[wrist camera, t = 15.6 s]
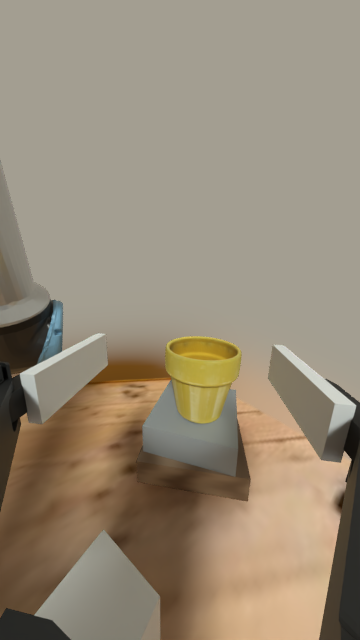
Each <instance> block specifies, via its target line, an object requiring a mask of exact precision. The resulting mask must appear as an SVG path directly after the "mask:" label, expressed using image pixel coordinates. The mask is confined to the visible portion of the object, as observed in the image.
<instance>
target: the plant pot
mask: <svg viewBox="0 0 360 640" xmlns="http://www.w3.org/2000/svg"><path fill="white" fill-rule="evenodd" d="M165 354H166V355H165V363H166V370H167V372H168V373H169V375H171V380H172V385H173V390H174V395H175V401H176V406H177V410H178V412H179V413H180V415H181V416H182V417H184V418H185V419H186V420H188V421H191V422H194V423H199V424H206V423H211V422H213V421H215V420H217V419H218V418H219V417H220V415H221V412H222V409H223V406H224V404H225V401H226V398H227V395H228V392H229V389H230V387H231V384H232V382H233V381H235V380H236V379H237V377H238V374H239V370H240V364H241V350H240V349H239V348H238V347H237V346H236V345H234V344H232V343H230V342H227V341H224V340H221V339H216V338H210V337H198V336H194V337H193V336H191V337H182V338H177V339H174V340H171V341H170V342H168V343H167V345H166V353H165Z"/></svg>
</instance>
